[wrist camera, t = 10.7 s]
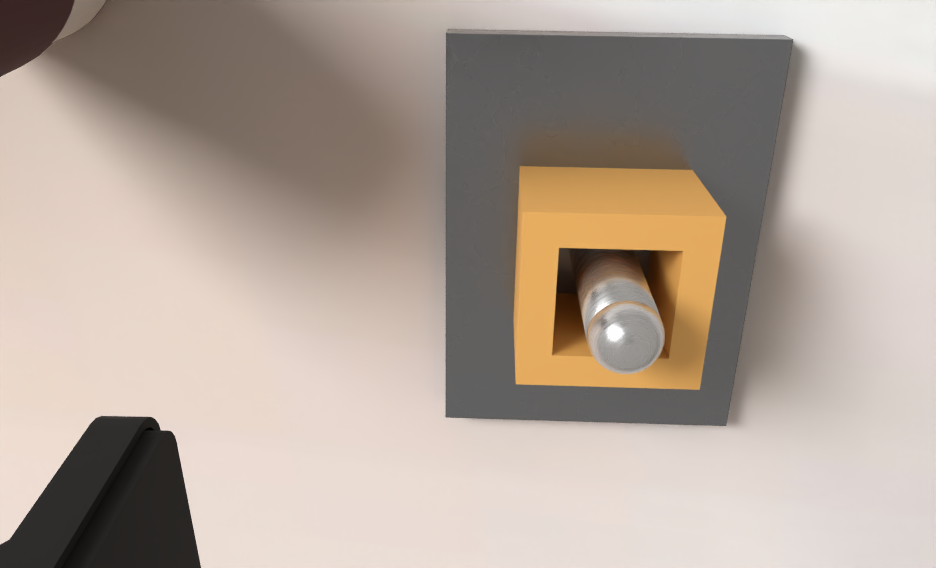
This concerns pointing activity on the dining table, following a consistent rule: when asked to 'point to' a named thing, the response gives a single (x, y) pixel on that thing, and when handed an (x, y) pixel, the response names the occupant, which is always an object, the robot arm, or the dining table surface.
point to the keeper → (599, 146)
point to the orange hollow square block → (614, 227)
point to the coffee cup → (38, 26)
